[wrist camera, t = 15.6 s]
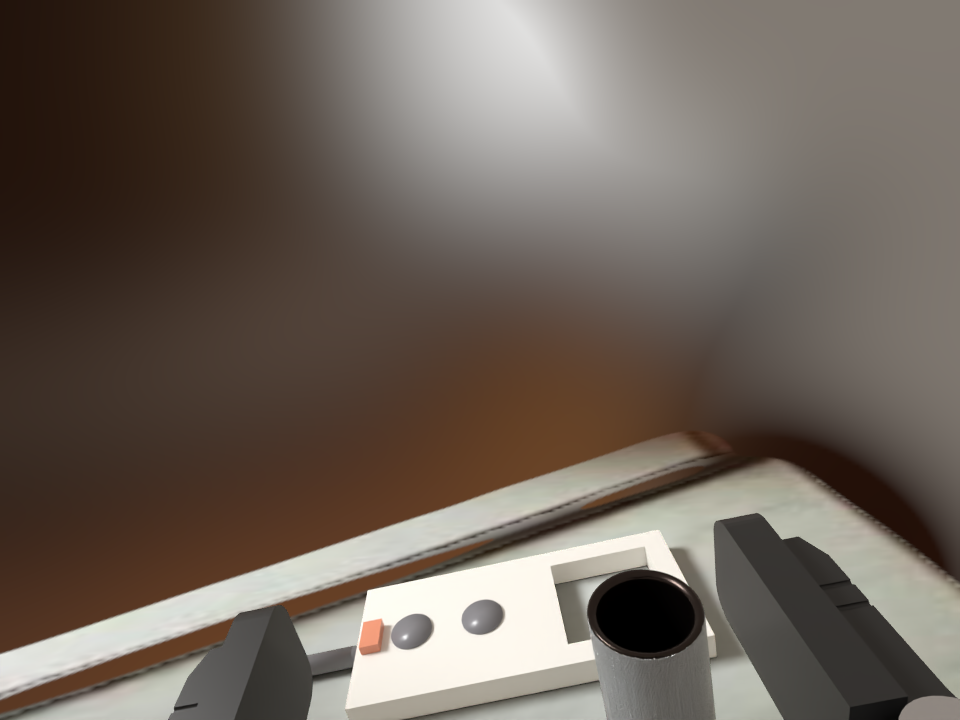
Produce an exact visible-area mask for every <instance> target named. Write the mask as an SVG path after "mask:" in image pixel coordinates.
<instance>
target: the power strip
mask: <svg viewBox="0 0 960 720" xmlns="http://www.w3.org/2000/svg"><path fill="white" fill-rule="evenodd" d="M646 565H647V566H648V568H649V570H655V571H660V572H664V573H667V574H670V575H672V576H674V577H676V578H678V579H680V580H682V581H683V582H685V583H686V584H687V582H686V580H685V578H684V576H683V574H682V572H681V570H680V569H679V567H678V565H677V563H676V561H675V559H674V557H673V555H672V553H671V552H670V550H669V548H668V546H667V544H666V542H665V540H664V538H663V537H662V535H661V533H660V531H659V530H655V531H650V532H645V533H641V534H636V535H631V536H626V537H621V538H617V539H612V540H607V541H602V542H598V543H593V544H588V545H583V546H578V547H574V548H569V549H564V550H559V551H555V552H550V553H545V554H540V555H535V556H531V557H526V558H521V559H516V560H512V561H507V562H502V563H497V564H492V565H488V566H483V567H478V568H473V569H469V570H464V571H459V572H454V573H449V574H445V575H440V576H435V577H430V578H426V579H421V580H416V581H411V582H407V583H402V584H397V585H392V586H387V587H383V588H378V589H373V590H368V592H367V597H366V603H365V608H364V613H363V618H362V623H361V628H360V634H359V639H358V644H357V646H351V647H346V648H341V649H336V650H331V651H327V652H322V653H317V654H312V655H307V657H308V660H309V662H310V666H311V671H312V676H313V675H318V674H323V673H328V672H333V671H338V670H343V669H348V668H353V670H352V675H351V680H350V686H349V691H348V696H347V701H346V706H345V711H346V713H347V716H348V718H349V720H403V719H408V718H413V717H418V716H423V715H428V714H433V713H438V712H443V711H448V710H453V709H458V708H463V707H468V706H473V705H478V704H483V703H488V702H493V701H498V700H503V699H508V698H513V697H518V696H523V695H528V694H533V693H538V692H543V691H548V690H553V689H558V688H563V687H568V686H573V685H578V684H583V683H588V682H593V681H598V680H599V676H598V671H597V666H596V661H595V656H594V651H593V646H592V641H591V640H586V641H581V642H576V643H571V644H568V642H567V637H566V633H565V629H564V624H563V620H562V615H561V611H560V607H559V602H558V598H557V593H556V589H555V585H554V584H559V583H564V582H569V581H573V580H578V579H583V578H588V577H593V576H598V575H602V574H607V573H612V572H617V571H622V570H627V569H631V568H636V567H641V566H646ZM687 585H688V584H687ZM705 619H706V618H705ZM706 629H707V639H708V648H709V658H713V657H717V653H716V643H715V635H714V633H713V631H712V629H711V627H710V625H709V623H708V621H707V620H706Z"/></svg>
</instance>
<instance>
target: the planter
mask: <svg viewBox="0 0 960 720" xmlns="http://www.w3.org/2000/svg"><path fill="white" fill-rule="evenodd" d="M587 620H588V626H589V631H590V636H591V641H592V646H593V651H594V656H595V661H596V666H597V671H598V676H599V681H600V686H601V691H602V696H603V701H604V706H605V711H606V716H607V720H716V717H715V707H714V697H713V688H712V678H711V668H710V658H709V648H708V639H707V629H706V619H705V612H704V608H703V605H702V602H701V600H700V599H699V597H698V596H697V594H696V593H695V592H694V590H693V589H692V588H691V587H689V586H688V585H687V584H686V583H685V582H683V581H682V580H680V579H678V578H676V577H674V576H672V575H670V574H667V573H664V572H660V571H655V570H631V571H626V572H622V573H619V574H617V575H614V576H612V577H610V578H609V579H607V580H605V581H604V582H603V583H602V584H600V585H599V586H598V587H597V588H596V590H595V591H594V592H593V594H592V596H591V598H590V600H589V603H588V607H587Z"/></svg>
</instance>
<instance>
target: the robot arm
mask: <svg viewBox="0 0 960 720" xmlns="http://www.w3.org/2000/svg"><path fill="white" fill-rule="evenodd" d="M714 548H715V569H716V586H717V592H718V596H719V600H720V603H721V606H722V609H723V611H724V614H725V616H726V618H727V620H728V622H729V624H730V625H731V627H732V629H733V631H734V633H735V634H736V636H737V638H738V640H739V641H740V643H741V645H742V647H743V648H744V650H745V652H746V654H747V655H748V657H749V659H750V661H751V662H752V664H753V666H754V668H755V670H756V671H757V673H758V675H759V677H760V678H761V680H762V682H763V684H764V685H765V687H766V689H767V691H768V692H769V694H770V696H771V698H772V699H773V701H774V703H775V705H776V707H777V708H778V710H779V712H780V714H781V715H782V717H783V719H784V720H960V699H958V698H957V697H955V696H954V695H953V694H952V693H951V692H950V691H949V690H948V689H947V688H946V687H945V686H944V685H943V683H942V682H941V681H940V680H939V679H938V678H937V677H936V676H935V674H934V673H933V672H932V671H931V670H930V669H929V668H928V667H927V665H926V664H925V663H924V662H923V661H922V660H921V659H920V658H919V656H918V655H917V654H916V653H915V652H914V651H913V650H912V649H911V647H910V646H909V645H908V644H907V643H906V642H905V641H904V639H903V638H902V637H901V636H900V635H899V634H898V633H897V632H896V630H895V629H894V628H893V627H892V626H891V625H890V624H889V623H888V621H887V620H886V619H885V618H884V617H883V616H882V615H881V614H880V612H879V611H878V610H877V609H876V608H875V607H874V606H871V605H870V604H869V601H868V599H867V598H866V597H865V596H864V594H863V593H862V592H861V591H860V590H859V589H858V588H857V587H856V585H855V584H854V585H852V583H851V581H850V579H849V578H848V576H847V575H846V574H845V573H844V572H843V571H842V570H841V569H840V567H839V566H838V565H837V564H836V563H835V562H834V561H833V560H832V558H831V557H830V556H829V555H828V554H826V553H824V552H823V551H821V550H819V549H818V548H816V547H815V546H813V545H811V544H810V543H808V542H806V541H805V540H803V539H801V538H800V537H794V538H789V539H784V540H782V539H781V538H780V537H779V535H778V534H777V533H776V532H775V531H774V529H773V528H772V527H771V526H770V524H769V523H768V522H767V521H766V519H765V518H764V517H763V516H762V515H760V514H758V513H755V514H750V515H744V516H739V517H734V518H729V519H724V520H719V521H716V522H715V524H714ZM312 687H313V681H312V671H311V666H310V662H309V660H308V657H307V655H306V653H305V650H304V648H303V646H302V644H301V641H300V639H299V637H298V635H297V632H296V630H295V628H294V625H293V623H292V621H291V619H290V616H289V614H288V612H287V610H286V609H285V608H284V607H283V606H282V605H277V606H272V607H267V608H262V609H257V610H252V611H247V612H242V613H239V614H238V615H237V616H236V617H235V619H234V622H233V623H232V625H231V628H230V630H229V632H228V635H227V637H226V639H225V642H224V644H223V647H220V648H215V649H211V650H210V651H209V652H208V654H207V655H206V656H205V657H204V658H203V660H202V661H201V662H200V663H199V664H198V666H197V667H196V668H195V669H194V671H193V672H192V673H191V674H190V675H189V677H188V678H187V680H186V682H185V685H184V687H183V689H182V691H181V693H180V695H179V698H178V700H177V702H176V704H175V706H174V713H172V714H171V715H170V717H169V719H168V720H307V715H308V711H309V707H310V702H311V697H312Z"/></svg>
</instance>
